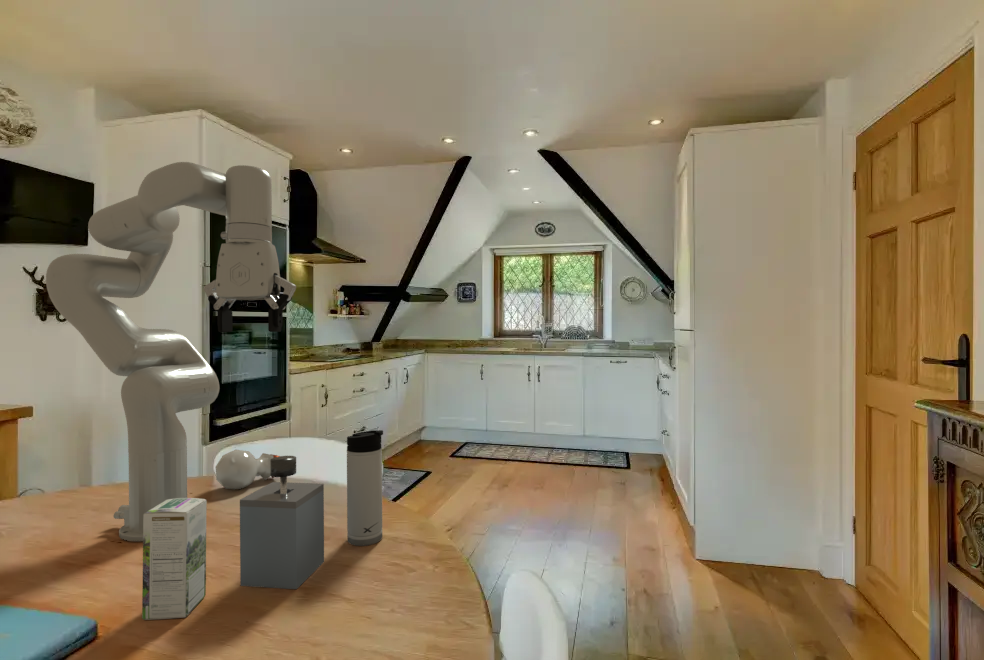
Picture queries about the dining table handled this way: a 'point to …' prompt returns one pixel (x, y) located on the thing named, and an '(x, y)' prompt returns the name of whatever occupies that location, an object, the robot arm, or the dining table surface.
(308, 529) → the grey box with hole
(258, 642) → the dining table surface
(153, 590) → the syrup box
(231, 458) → the potion bottle
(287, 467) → the plunger
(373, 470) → the travel mug
